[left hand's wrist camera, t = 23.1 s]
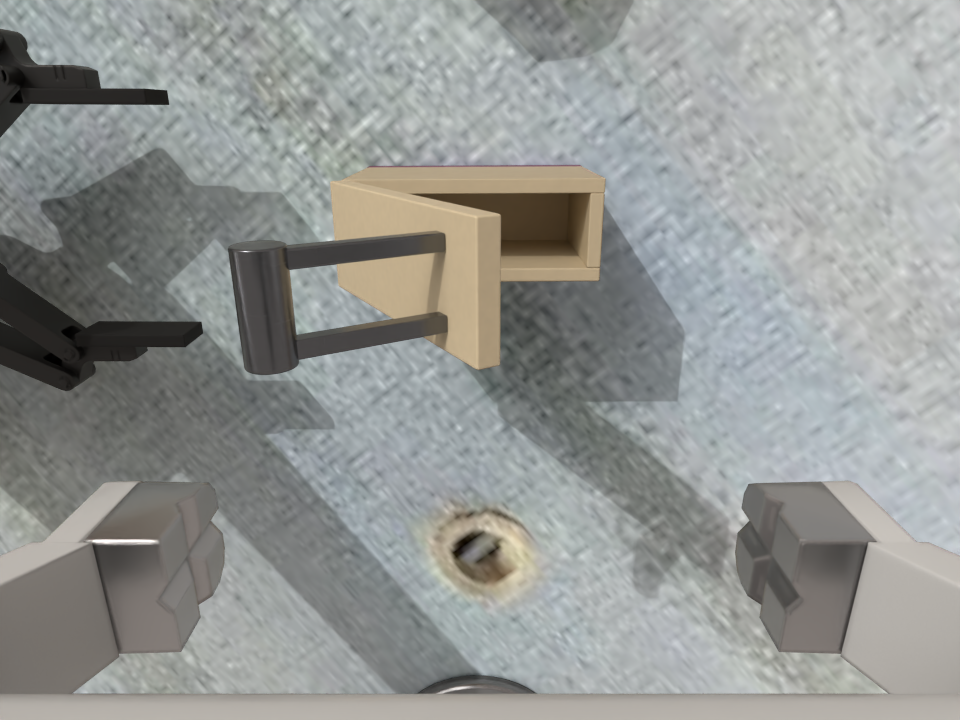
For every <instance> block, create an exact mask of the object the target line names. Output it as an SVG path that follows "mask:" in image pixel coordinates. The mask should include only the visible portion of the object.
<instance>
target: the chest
mask: <svg viewBox="0 0 960 720" xmlns="http://www.w3.org/2000/svg"><path fill="white" fill-rule="evenodd" d="M346 180H348V181H353V182H357V183H362V184H366V185H371V186H375V187H380V188H384V189H389V190H393V191H398V192H402V193H407V194H412V195H416V196H421V197H425V198H430V199H434V200H439V201H443V202H448V203H452V204H457V205H461V206H466V207H471V208H475V209H480V210H484V211H489V212H493V213H498V214H500V215H501V282H512V281H599V279H600V268H599V267H600V262H601V245H602V228H603V211H604V192H605V178H603V177H601V176H599V175H597V174H595V173H593V172H591V171H589V170H588V169H586V168H584V167H582V166H581V165H500V166H369V167H367V168H366V169H364V170H362V171H360V172H358V173H355V174H353V175H351V176H349V177H347V178H345V179H343V180H342V181H346Z"/></svg>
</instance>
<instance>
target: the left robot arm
mask: <svg viewBox="0 0 960 720" xmlns="http://www.w3.org/2000/svg"><path fill="white" fill-rule="evenodd" d="M217 510H218V503H217V498H216V493H215V489H214V488H213V487H212V486H211V485H210V484H209V483H200V482H149V481H146V482H142V481H113V482H107V483H103V484H102V485H101V486H100V487H99V488H98V489H97V490H96V491H95V492H94V493H93V494H92V495H91V496H90V497H89V498H88V499H87V500H86V501H85V502H84V503H83V504H82V505H81V506H80V507H79V508H78V509H77V510H76V511H74V512H73V513H72V514H71V515H70V516H69V517H68V518H67V519H66V520H65V521H64V522H63V523H62V524H61V525H60V526H59V527H58V528H57V529H56V530H55V531H54V532H53V533H52V534H51V535H50V536H49V537H48V538H47V539H46V540H44V541H43V542H31V543H29V544H27V545H24V546H22V547H20V548H17V549H15V550H13V551H10V552H8V553H6V554H4V555H1V556H0V720H960V556H959V555H956V554H954V553H952V552H949V551H947V550H945V549H943V548H940V547H938V546H936V545H933V544H931V543H929V542H917V541H916V540H915V539H914V538H912V537H911V536H910V535H909V534H908V533H907V532H906V531H905V530H904V529H903V528H902V527H901V526H900V525H899V524H898V523H897V522H896V521H895V520H894V519H893V518H892V517H891V516H890V515H889V514H888V513H887V512H886V511H885V510H884V509H883V508H882V507H880V506H879V505H878V504H877V503H876V502H875V501H874V500H873V499H872V498H871V497H870V496H869V495H868V494H867V493H866V492H865V491H864V490H863V489H862V488H861V487H860V486H859V485H858V484H856V483H853V482H851V481H827V482H788V483H754V484H748V486H747V488H746V491H745V493H744V497H743V503H742V510H743V511H744V513H745V514H746V516H747V517H748V519H749V520H750V521H749V522H748V523H747V524H746V525H745V526H744V527H743V528H742V529H741V530H740V531H739V532H738V533H737V541H736V550H735V556H736V566H737V572H738V575H739V579H740V582H741V584H742V586H743V588H744V590H745V592H746V594H747V596H749V597H750V598H752V599H753V600H755V601H756V602H758V603H759V604H761V605H762V606H761V612H760V619H761V621H762V623H763V624H764V626H765V628H766V630H767V632H768V633H769V635H770V637H771V639H772V640H773V642H774V644H775V646H776V647H777V649H778V651H779V652H800V653H837V654H841V657H842V658H843V659H845V660H846V661H847V662H849V663H850V664H851V665H852V666H854V667H855V668H856V669H858V670H859V671H860V672H861V673H863V674H864V675H865V676H867V677H868V678H869V679H870V680H872V681H873V682H874V683H876V684H877V685H878V686H879V687H881V688H882V689H883V690H885V691H886V692H887V693H889V694H72V693H73V692H74V691H76V690H77V689H78V688H79V687H81V686H82V685H83V684H85V683H86V682H87V681H88V680H90V679H91V678H92V677H94V676H95V675H96V674H98V673H99V672H100V671H101V670H103V669H104V668H105V667H107V666H108V665H109V664H110V663H112V662H113V661H114V660H116V659H117V658H118V657H119V654H123V653H158V652H181V651H182V649H183V648H184V646H185V644H186V642H187V640H188V639H189V637H190V635H191V633H192V632H193V630H194V628H195V626H196V624H197V623H198V621H199V619H200V612H199V606H198V605H199V604H201V603H202V602H204V601H205V600H207V599H208V598H210V597H211V596H213V594H214V592H215V590H216V588H217V586H218V584H219V582H220V579H221V575H222V570H223V566H224V550H225V547H224V540H223V533H222V532H221V531H220V530H219V529H218V528H217V527H216V526H215V525H214V524H213V523H212V522H211V521H210V520H211V519H212V517H213V516H214V514H215V513H216V511H217Z"/></svg>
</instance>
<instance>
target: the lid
mask: <svg viewBox="0 0 960 720" xmlns="http://www.w3.org/2000/svg"><path fill="white" fill-rule="evenodd" d="M330 185H331V197H332V209H333V222H334V234H335V241H326V242H316V243H306V244H296V245H286V243H284V242H280V241H270V240H261V241H248V242H241V243H236V244H233V245H231V246H229V247H228V253H229V260H230V267H231V275H232V282H233V289H234V296H235V304H236V311H237V318H238V325H239V333H240V340H241V347H242V354H243V361H244V368H245V370H246V371H247V372H249V373H252V374H258V375H271V374H278V373H283V372H286V371H289V370H292V369H294V368H295V367H297V366H298V364H299V360H300V359H305V358H311V357H316V356H322V355H327V354H333V353H338V352H343V351H349V350H354V349H360V348H365V347H371V346H376V345H382V344H387V343H393V342H398V341H404V340H409V339H414V338H420V337H424V338H425V339H427V340H429V341H430V342H432V343H434V344H435V345H437V346H438V347H440V348H442V349H443V350H445V351H447V352H448V353H450V354H452V355H453V356H455V357H457V358H458V359H460V360H462V361H463V362H465V363H466V364H468V365H470V366H471V367H473V368H475V369H476V370H480V369H485V368H490V367H494V366H499V365H500V297H501V215H500V214H498V213H493V212H489V211H484V210H480V209H475V208H471V207H466V206H461V205H457V204H452V203H448V202H443V201H439V200H434V199H430V198H425V197H421V196H416V195H412V194H407V193H402V192H398V191H393V190H389V189H384V188H380V187H375V186H371V185H366V184H362V183H357V182H353V181H348V180H346V181H332V182H331V183H330ZM335 264H337V271H338V283H339V286H340V287H341V288H343V289H345V290H346V291H348V292H350V293H351V294H353V295H355V296H356V297H358V298H359V299H361V300H363V301H364V302H366V303H368V304H369V305H371V306H373V307H374V308H376V309H378V310H379V311H381V312H383V313H384V314H386V315H387V316H389V317H391V318H392V319H390V320H384V321H378V322H372V323H366V324H360V325H354V326H348V327H342V328H336V329H330V330H324V331H317V332H311V333H305V334H299V335H296V327H295V318H294V309H293V299H292V290H291V281H290V271H289V270H292V269H301V268H309V267H318V266H326V265H335Z"/></svg>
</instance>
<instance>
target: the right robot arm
mask: <svg viewBox="0 0 960 720" xmlns="http://www.w3.org/2000/svg"><path fill="white" fill-rule="evenodd" d="M27 48H28V47H27V41H26V39H25V38H24V37H23V35H22V34H20V33H18V32H14V31H9V30H4V29H0V137H1V136H2V135H3V134H4V133H5V132H6V130H7V129H8V128H9V127H10V126H11V125H12V124H13V123H14V121H15V120H16V119H17V118H18V117H19V116H20V115H21V114H22V112H23V111H24V110H25V109H26V108H27V107H28V106H29V105H30V104H112V105H169V100H168V94H167V90H154V89H101V87H100V81H99V76H98V71H96V70H94V69H92V68H89V67H84V66H75V65H38V64H36V63H35V62H34V61H33V60H32V59H31V58H30V56H29V54H28V53H27ZM0 318H1V319H2V320H4V321H5V322H7V323H8V324H10V325H11V326H12V327H10V326H8V325H6V324H3V323H1V322H0V364H1V365H4V366H6V367H9V368H11V369H13V370H16V371H18V372H21V373H23V374H25V375H28V376H30V377H32V378H35V379H37V380H40V381H42V382H44V383H47V384H49V385H52V386H54V387H56V388H59V389H61V390H65V391H69V390H71V389H73V388H74V387H76V386H77V385H79V384H80V383H82V382H83V381H85V380H86V379H88V378H89V377H91V376H92V375H94V373H95V371H96V368H95V365H94V364H93V362H94V361H131V360H134V359H136V358H138V357H139V356H141V355H142V354H144V353H145V352H146V351H148V349H147V347H186V346H187V345H189V344H190V343H191V342H192V341H194V340H195V339H196V338H197V337H199V336H200V335H201V334H203V329H202V323H201V322H121V321H99V322H97V323H95V324H93V325H91V326H89V327H88V328H85V327H84V326H82V325H81V324H79V323H78V322H76V321H75V320H73V319H72V318H71V317H69V316H68V315H66V314H65V313H63V312H62V311H60V310H59V309H58V308H56V307H55V306H53V305H52V304H50V303H49V302H48V301H46V300H45V299H43V298H42V297H40V296H39V295H37V294H36V293H35V292H33V291H32V290H30V289H29V288H27V287H26V286H24V285H23V284H22V283H20V282H19V281H17V280H16V279H14V278H13V277H11V276H10V275H9V274H8V273H7V269H6V267H5V266H4V265H2V264H1V263H0ZM13 327H14V328H13ZM418 694H535V693H534V692H532V691H531V690H529V689H527V688H526V687H524V686H522V685H520V684H517V683H515V682H512V681H509V680H506V679H502V678H497V677H491V676H477V675H475V676H462V677H456V678H451V679H447V680H444V681H441V682H438V683H435V684H433V685H431V686H429V687H427V688H426V689H424V690H422V691H421V692H419V693H418Z"/></svg>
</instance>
